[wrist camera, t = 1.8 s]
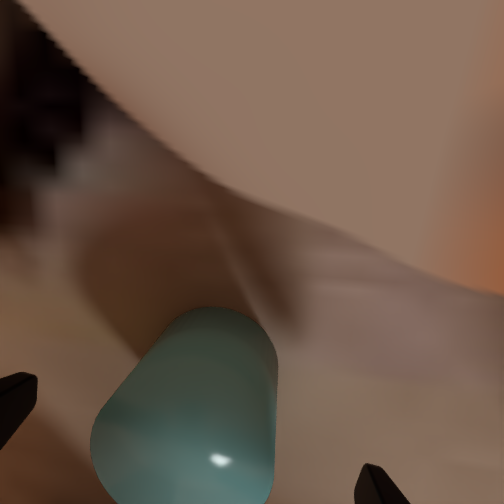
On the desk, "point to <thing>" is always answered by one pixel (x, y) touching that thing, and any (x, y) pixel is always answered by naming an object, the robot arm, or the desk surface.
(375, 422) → the desk surface
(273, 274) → the desk surface
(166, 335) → the teal cylinder
